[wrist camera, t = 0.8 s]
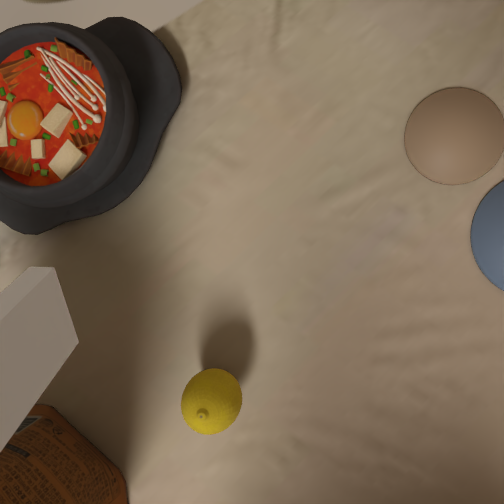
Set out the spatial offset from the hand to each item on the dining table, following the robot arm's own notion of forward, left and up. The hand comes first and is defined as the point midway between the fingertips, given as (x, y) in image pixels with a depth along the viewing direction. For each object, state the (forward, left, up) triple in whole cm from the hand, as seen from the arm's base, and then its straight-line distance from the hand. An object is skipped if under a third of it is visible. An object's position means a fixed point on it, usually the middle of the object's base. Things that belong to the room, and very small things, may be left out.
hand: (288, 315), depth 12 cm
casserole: (+26, +10, -32) cm, 42 cm away
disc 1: (+1, -18, -32) cm, 37 cm away
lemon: (-4, +15, -32) cm, 35 cm away
